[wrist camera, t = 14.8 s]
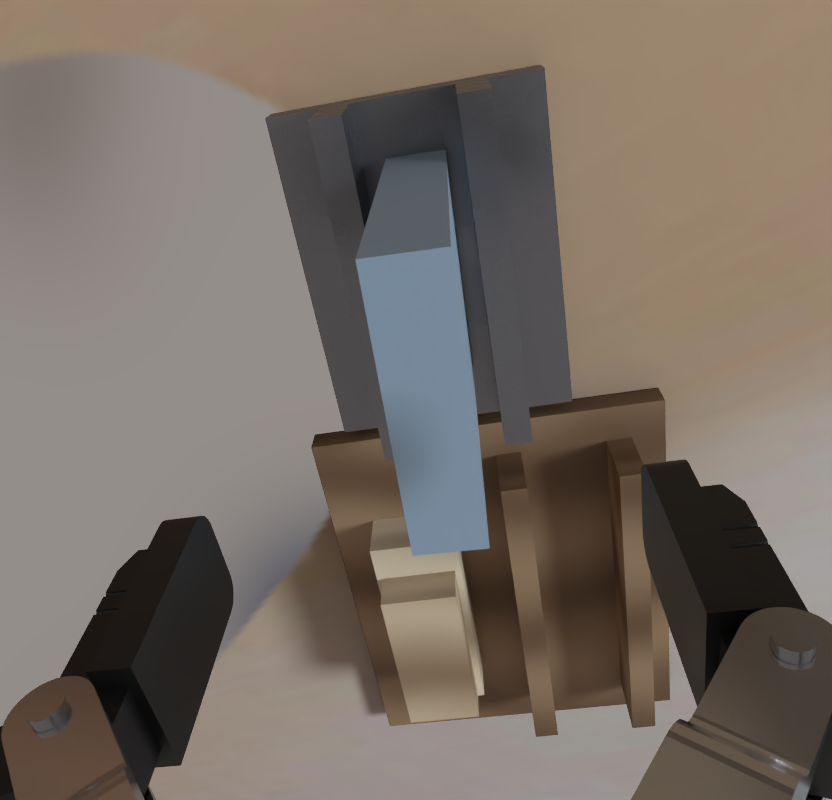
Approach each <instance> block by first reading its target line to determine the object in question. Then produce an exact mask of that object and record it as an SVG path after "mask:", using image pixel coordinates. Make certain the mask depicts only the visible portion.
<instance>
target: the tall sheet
mask: <svg viewBox="0 0 832 800" xmlns="http://www.w3.org/2000/svg"><path fill="white" fill-rule="evenodd" d="M355 260H356V265H357V271H358V276H359V281H360V286H361V291H362V297H363V302H364V307H365V312H366V317H367V323H368V328H369V333H370V338H371V343H372V349H373V354H374V359H375V364H376V369H377V375H378V380H379V385H380V390H381V395H382V401H383V406H384V411H385V416H386V421H387V427H388V432H389V437H390V442H391V447H392V453H393V458H394V463H395V468H396V473H397V479H398V484H399V489H400V494H401V499H402V505H403V510H404V515H405V520H406V525H407V531H408V536H409V541H410V546H411V551H412V556H418V555H428V554H438V553H448V552H459V551H469V550H479V549H489V548H490V546H489V536H488V525H487V514H486V503H485V492H484V482H483V471H482V460H481V449H480V438H479V427H478V417H477V406H476V395H475V384H474V373H473V364H472V356H471V347H470V339H469V331H468V323H467V315H466V307H465V299H464V291H463V283H462V275H461V267H460V259H459V250H458V242H457V234H456V226H455V218H454V210H453V202H452V194H451V186H450V178H449V170H448V162H447V153H446V150H440V151H433V152H426V153H419V154H412V155H406V156H399V157H392V158H386V160H385V163H384V166H383V170H382V173H381V176H380V180H379V183H378V186H377V189H376V193H375V196H374V199H373V203H372V206H371V209H370V213H369V216H368V219H367V222H366V226H365V229H364V232H363V236H362V239H361V242H360V246H359V249H358V252H357V256H356V259H355Z"/></svg>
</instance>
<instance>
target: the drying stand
mask: <svg viewBox="0 0 832 800" xmlns="http://www.w3.org/2000/svg"><path fill="white" fill-rule="evenodd" d="M266 123H267V127H268V131H269V135H270V139H271V143H272V147H273V150H274V155H275V158H276V162H277V166H278V170H279V174H280V178H281V182H282V186H283V190H284V194H285V198H286V202H287V206H288V210H289V214H290V217H291V222H292V225H293V229H294V233H295V237H296V241H297V245H298V249H299V253H300V257H301V261H302V265H303V269H304V273H305V277H306V281H307V284H308V288H309V292H310V296H311V300H312V304H313V308H314V311H315V316H316V320H317V324H318V328H319V332H320V335H321V339H322V343H323V347H324V351H325V355H326V359H327V363H328V367H329V371H330V375H331V379H332V383H333V387H334V391H335V395H336V399H337V403H338V407H339V410H340V414H341V418H342V422H343V426H344V430H345V432H351V431H358V430H365V429H373V428H378V431H379V435H380V439H381V444H382V448H383V452H384V457H385V461H390V460H394V458H393V453H392V447H391V442H390V437H389V432H388V427H387V421H386V416H385V411H384V406H383V401H382V395H381V390H380V385H379V380H378V375H377V369H376V364H375V359H374V354H373V349H372V343H371V338H370V333H369V328H368V323H367V317H366V312H365V307H364V302H363V297H362V291H361V286H360V281H359V276H358V271H357V265H356V260H355V259H356V256H357V252H358V249H359V246H360V242H361V239H362V236H363V232H364V229H365V226H366V222H367V219H368V216H369V213H370V209H371V206H372V203H373V199H374V196H375V193H376V189H377V186H378V183H379V180H380V176H381V173H382V170H383V166H384V163H385V160H386V158H392V157H399V156H406V155H412V154H419V153H426V152H433V151H440V150H446V153H447V162H448V170H449V178H450V186H451V194H452V202H453V210H454V218H455V226H456V234H457V242H458V250H459V259H460V267H461V275H462V283H463V291H464V299H465V307H466V315H467V323H468V331H469V339H470V347H471V356H472V364H473V373H474V384H475V395H476V406H477V414H483V413H490V412H498V411H500V415H501V421H502V428H503V435H504V442H505V445H512V444H520V443H527V442H533V439H532V431H531V422H530V413H529V407H534V406H542V405H549V404H556V403H564V402H571V401H572V392H571V380H570V368H569V356H568V344H567V332H566V320H565V308H564V296H563V285H562V273H561V261H560V249H559V237H558V225H557V213H556V201H555V189H554V177H553V165H552V153H551V141H550V129H549V117H548V105H547V93H546V81H545V69H544V67H543V66H541V65H537V66H531V67H526V68H520V69H515V70H509V71H504V72H498V73H493V74H487V75H482V76H477V77H471V78H466V79H460V80H455V81H449V82H444V83H438V84H433V85H427V86H422V87H416V88H411V89H406V90H400V91H395V92H389V93H384V94H378V95H373V96H367V97H362V98H356V99H351V100H345V101H340V102H335V103H329V104H324V105H318V106H313V107H307V108H302V109H296V110H291V111H285V112H280V113H274V114H271V115H269V116H268V117H267V118H266Z"/></svg>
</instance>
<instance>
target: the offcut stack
mask: <svg viewBox="0 0 832 800" xmlns="http://www.w3.org/2000/svg"><path fill="white" fill-rule="evenodd" d="M370 555H371V559H372V563H373V566H374V570H375V574H376V578H377V582H378V586H379V590H380V594H381V604H380V605H381V609H382V613H383V617H384V621H385V625H386V628H387V632H388V636H389V640H390V644H391V648H392V651H393V655H394V659H395V663H396V667H397V671H398V674H399V678H400V682H401V686H402V690H403V694H404V697H405V701H406V705H407V709H408V713H409V717H410V720H411V723H414V722H424V721H435V720H445V719H456V718H467V717H477V716H479V706H478V696H480V695H484V681H483V666H482V657H481V652H480V646H479V641H478V635H477V630H476V624H475V619H474V614H473V608H472V603H471V597H470V592H469V586H468V581H467V575H466V570H465V564H464V559H463V554H462V551H459V552H448V553H438V554H428V555H418V556H412V551H411V546H410V541H409V536H408V531H407V525H406V520H405V517H399V518H391V519H383V520H375V521H373V528H372V536H371V544H370Z"/></svg>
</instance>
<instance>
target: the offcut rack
mask: <svg viewBox="0 0 832 800" xmlns="http://www.w3.org/2000/svg"><path fill="white" fill-rule="evenodd" d="M529 413H530V422H531V431H532V439H533V442H527V443H520V444H512V445H505V442H504V435H503V428H502V421H501V415H500V411H498V412H490V413H483V414H477V417H478V427H479V438H480V449H481V460H482V471H483V482H484V492H485V503H486V514H487V525H488V536H489V546H490V548H489V549H479V550H469V551H462V554H463V559H464V564H465V570H466V575H467V581H468V586H469V592H470V597H471V603H472V608H473V614H474V619H475V624H476V630H477V635H478V641H479V646H480V652H481V657H482V666H483V681H484V695H480V696H478V706H479V716H477V717H467V718H456V719H445V720H435V721H424V722H414V723H411V720H410V717H409V713H408V709H407V705H406V701H405V697H404V694H403V690H402V686H401V682H400V678H399V674H398V671H397V667H396V663H395V659H394V655H393V651H392V648H391V644H390V640H389V636H388V632H387V628H386V625H385V621H384V617H383V613H382V609H381V605H380V604H381V594H380V590H379V586H378V582H377V578H376V574H375V570H374V566H373V563H372V559H371V555H370V544H371V536H372V528H373V521H375V520H383V519H391V518H399V517H405V515H404V510H403V505H402V499H401V494H400V489H399V484H398V479H397V473H396V468H395V463H394V460H390V461H385V457H384V452H383V448H382V444H381V439H380V435H379V431H378V428H373V429H365V430H358V431H351V432H345V431H339V432H331V433H324V434H317V435H315V437H314V441H313V444H312V451H313V455H314V458H315V462H316V466H317V469H318V473H319V476H320V479H321V483H322V487H323V490H324V494H325V497H326V501H327V504H328V508H329V512H330V515H331V519H332V522H333V526H334V529H335V533H336V536H337V540H338V544H339V547H340V551H341V554H342V558H343V561H344V565H345V568H346V572H347V575H348V579H349V583H350V586H351V590H352V593H353V597H354V600H355V604H356V607H357V611H358V615H359V618H360V622H361V625H362V629H363V632H364V636H365V639H366V643H367V646H368V650H369V654H370V657H371V661H372V664H373V668H374V671H375V675H376V678H377V682H378V685H379V689H380V693H381V696H382V700H383V703H384V707H385V710H386V714H387V717H388V721H389V724H390V726H396V725H406V724H417V723H428V722H438V721H449V720H460V719H470V718H481V717H492V716H502V715H513V714H524V713H533V719H534V726H535V733H536V737H538V736H549V735H558V732H557V724H556V716H555V711H556V710H566V709H577V708H588V707H598V706H609V705H620V704H627V708H628V712H629V716H630V719H631V723H632V727H633V728H637V727H648V726H655V706H654V701H662V700H670V683H669V624H668V621H667V618H666V615H665V612H664V609H663V607H662V604H661V601H660V598H659V595H658V592H657V589H656V586H655V584H654V581H653V578H652V575H651V572H650V569H649V566H648V563H647V558H646V554H645V548H644V542H643V530H642V492H641V468H642V465H643V464H651V463H660V462H666V441H665V400H664V398H663V396H662V394H661V392H660V390H659V389H658V388H654V389H647V390H640V391H632V392H625V393H618V394H610V395H603V396H596V397H588V398H581V399H573V400H572V401H571V402H564V403H556V404H549V405H542V406H534V407H529Z"/></svg>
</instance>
